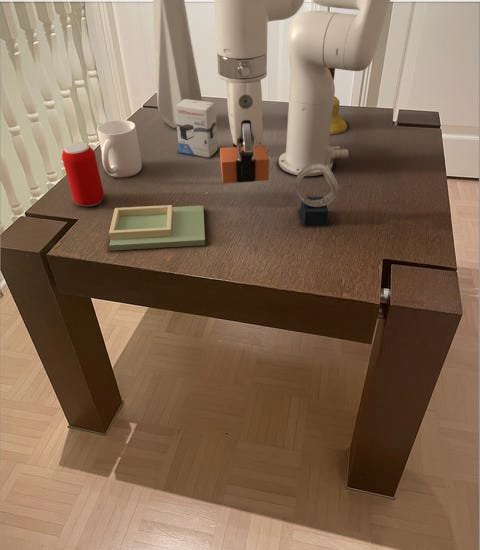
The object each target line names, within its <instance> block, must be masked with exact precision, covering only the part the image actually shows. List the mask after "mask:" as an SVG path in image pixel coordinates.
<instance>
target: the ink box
mask: <svg viewBox="0 0 480 550" xmlns="http://www.w3.org/2000/svg"><path fill="white" fill-rule="evenodd" d="M216 110H217V109H216V103H214V102H211V101H204V100H202V101H197V100H190V99H184V100H182V101H181V102H180V103H178V104H177V105H175V112H176V122H177V128H176V130H177V131H176V132H177V139H178V141H177V142H178V150H179V151H178V152H179V154H187V155H192V156H199V157H204V158H211V157H212V156H213V155H214V154H215V153H216V152H217V151H218V131H217V111H216Z"/></svg>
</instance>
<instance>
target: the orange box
mask: <svg viewBox="0 0 480 550" xmlns="http://www.w3.org/2000/svg"><path fill="white" fill-rule="evenodd" d="M242 150H243V147H241V151H242ZM219 155H220V156H219V157H220V159H219V160H220V171H221V179H222V180H221V181H222V183H223V184H231V183H232V184H233V183H234V184H235V183H238V182H237V175H236V160H238V156H237V147H233V146H231V147H230V146H228V147H220V148H219ZM254 158H255V181H254V182H262V181H269V179H270V178H269V173H270V158H269V155H268V151H267V148H266V145H265V144H264V145H263V144H260V145H254Z"/></svg>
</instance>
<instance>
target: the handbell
mask: <svg viewBox="0 0 480 550" xmlns="http://www.w3.org/2000/svg"><path fill="white" fill-rule="evenodd" d="M328 69H329V71H330V73H331V75H332V78H333V81H334V82H335V74H336V69H335V68H328ZM347 129H348V124H347V123H346V121H345V120H344V119H343V118H341V115H340V99H338V97H336V96H335V95H334V102H333V110H332V119H331V127H330V135H336V134H340V133H344V132H345V131H347Z"/></svg>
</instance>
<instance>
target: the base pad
mask: <svg viewBox="0 0 480 550" xmlns="http://www.w3.org/2000/svg"><path fill="white" fill-rule="evenodd" d="M204 210H205V209H204V205H187V206H186V205H184V206H173V205H172V204H166V205H165V204H163V205H148V206H147V205H146V206H145V205H144V206H127V207H125V206H124V207H115V208H114V210H113V214H112V219H111V222H110V227H109V231H108V235H109V240H110V241H109V246H108V247H109V249H110V251H111V252H112V251H128V250H129V251H130V250H131V251H132V250H145V249H161V248H163V249H164V248H178V247H181V248H182V247H196V246H206V231H205V212H204Z"/></svg>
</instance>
